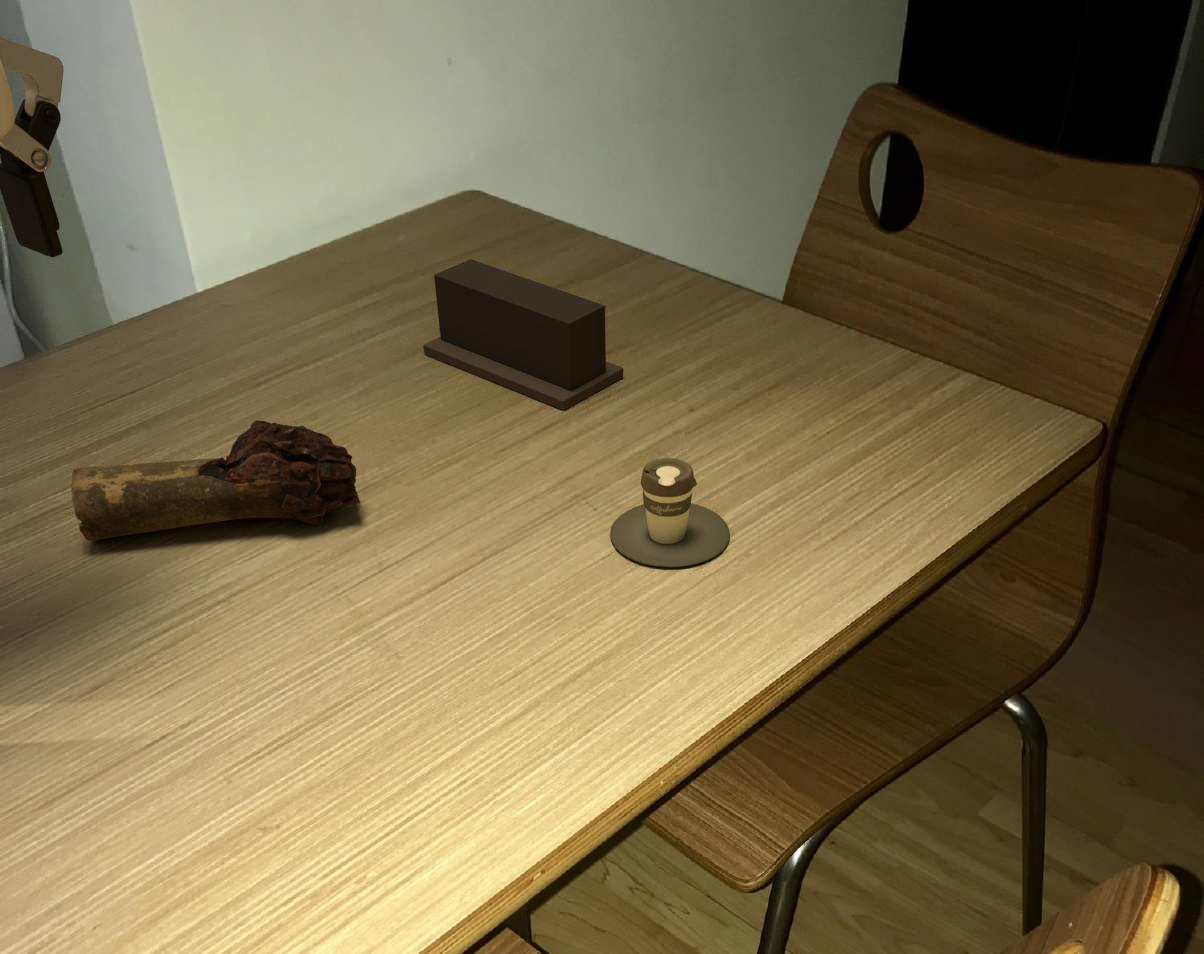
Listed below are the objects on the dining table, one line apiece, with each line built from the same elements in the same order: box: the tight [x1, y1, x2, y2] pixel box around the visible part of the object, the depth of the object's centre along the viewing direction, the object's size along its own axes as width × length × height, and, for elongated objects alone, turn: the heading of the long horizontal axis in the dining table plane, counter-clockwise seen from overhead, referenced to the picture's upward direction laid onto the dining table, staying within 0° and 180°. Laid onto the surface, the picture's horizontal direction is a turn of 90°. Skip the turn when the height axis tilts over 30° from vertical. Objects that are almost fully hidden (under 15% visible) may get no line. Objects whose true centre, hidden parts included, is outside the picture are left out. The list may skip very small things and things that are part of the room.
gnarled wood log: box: [70, 419, 361, 542], centre depth 84 cm, size 18×7×6 cm, turn 97°
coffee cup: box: [609, 457, 731, 569], centre depth 82 cm, size 12×12×5 cm
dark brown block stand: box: [422, 258, 624, 411], centre depth 99 cm, size 15×7×6 cm, turn 49°
